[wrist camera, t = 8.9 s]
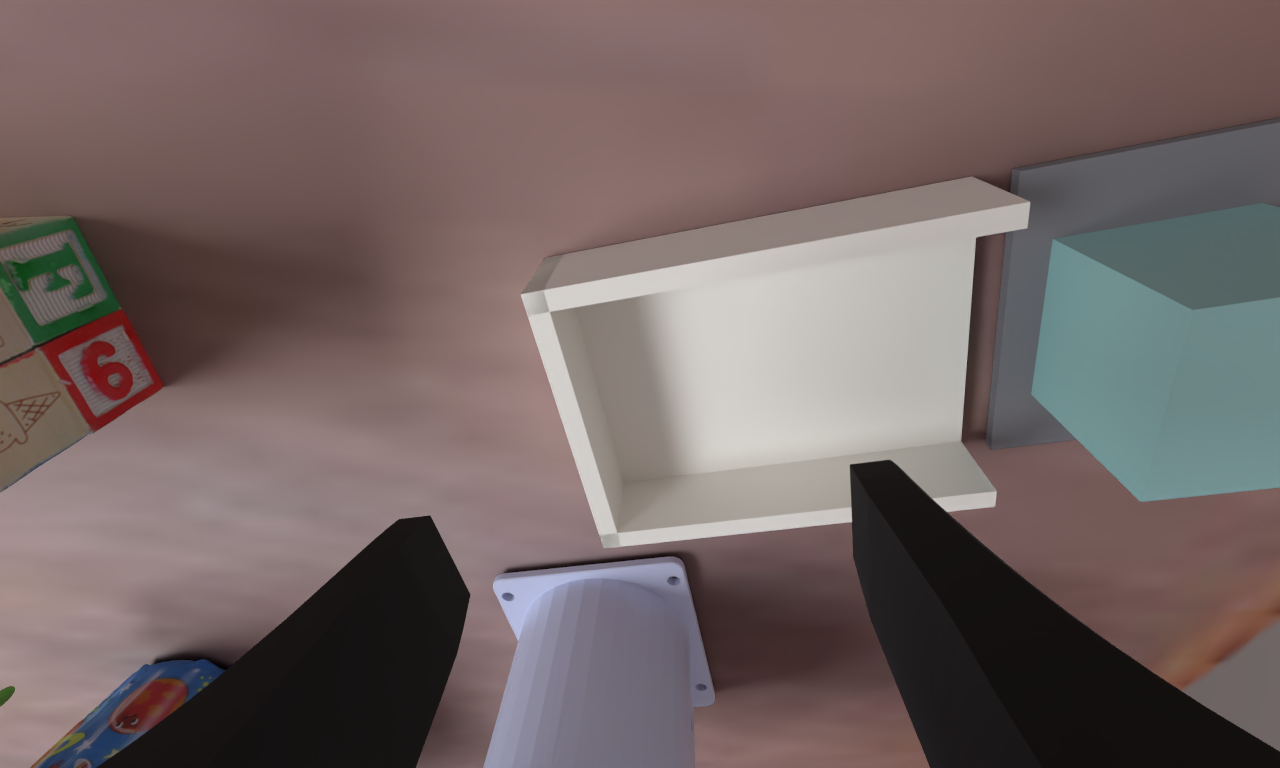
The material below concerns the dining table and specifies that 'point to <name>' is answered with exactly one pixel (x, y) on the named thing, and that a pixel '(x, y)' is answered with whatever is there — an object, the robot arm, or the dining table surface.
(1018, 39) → the dining table surface
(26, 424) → the stack of blocks
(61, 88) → the dining table surface
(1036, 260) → the charcoal mat
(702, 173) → the dining table surface
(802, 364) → the open box
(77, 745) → the snack cup
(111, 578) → the dining table surface
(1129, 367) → the teal block
